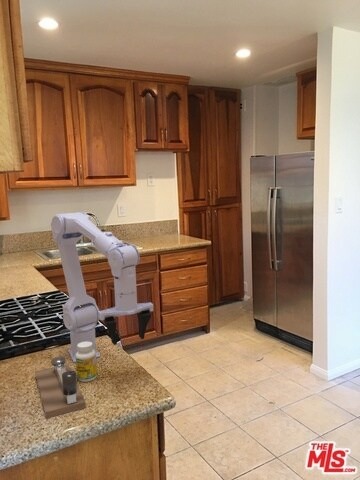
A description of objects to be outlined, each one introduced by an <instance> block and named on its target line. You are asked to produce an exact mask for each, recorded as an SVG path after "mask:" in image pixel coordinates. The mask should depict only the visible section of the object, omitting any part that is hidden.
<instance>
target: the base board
mask: <svg viewBox="0 0 360 480" xmlns="http://www.w3.org/2000/svg"><path fill="white" fill-rule="evenodd" d="M63 365H64V367H65V370H66V372H67V371H72V369H71V367H70V365H69V364H68V363H67V364H63ZM34 372H35V373H34V374H35V381H36V384H37V388H38V393H39V395H40V399H41V404H42V408H43V411H44V416H45V419H49V418H52V417H57V416H60V415H64V414H67V413H71V412H75V411H78V410H83V409H85V408H87V406H86V400H85V398H84V396H83V393H82V392H81V389H80V387H79V384H78V383H77V392H76V402H74V403H70V404H67V401H66V398H65V395H64V394H63V390H62V387H61V385H60V382H59V379H58V376H57V374H56V371H55V367H54V366H53V367H50V368H45V369H41V370H36V371H34Z"/></svg>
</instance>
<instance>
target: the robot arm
mask: <svg viewBox="0 0 360 480" xmlns="http://www.w3.org/2000/svg"><path fill="white" fill-rule="evenodd" d="M50 227H51V232H52V237H53V241H54V243H55V244H57V248H58V251H59V256H60V261H61V265H62V270H63V274H64V275H63V276H64V278H65V284H66V287H67V288H66V289H67V293H68V299H67V301H66V302H65V303H64V305H63V306H62V313H63V314H62V315H63V316H62V320H63V324H64V326H65V328H66V329H67V330H69V335H70V336H69V338H70V347H71V348H70V349H68V354H69V356H70V358H71V360H72V362H73V363H76V357H75V356H76V353H77V352H78V350H77V345H78V344H79V343H81V342H86V341H88V342H92V345H93V348H92V349H93V350H94V351H95V352H96V359H97V358H100V357H101V355H100V353H99V352H98V350H97V343H96V328H95V327H96V326H97V323H98V322H99V320H100V321H103V322H104V324H105V326H106V329H107V330H108V333H109V335H110V339H111V343H112V344H113V346H116V345H117V344H118V342H117V322H116V320H115V318H117V317H122V316H123V317H124V316H128V315H134V314H137V323H138V338H140V339H141V340H144V339H145V335H146V330H147V327H148V324H149V322H150V320H151V318H152V313H151V312H154V304H153V303H152V302H151V301H150V302H143V303H138V297H137V294H138V292H137V275H136V274H137V273H136V271H137V269H136V266H137V265H139V263H140V260H141V259H140V258H141V257H140V256H141V255H140V252H139V250H138V248H137V247H136V246H135V245H134V244H127V243H126V244H125V243H124V241H121V240H119V239H118V238H117V237H116V236H115V235H114V234H113V232H111V231H102V230H101V229H99V228H98V226H97V225H95V223H93V222H92V220H91V216H90V214H88V213H86V212H84V211H79V212H69V213H67V212H66V213H56V214H54V215H53V217H52V219H51V222H50ZM83 237H85V238H87V239H89V240H90V241H92V242H93V243H94V248H95V249H96V250H97V252H99V253H100V254H101V255H103V256H104V257H105V258H106V259H107V262H108V265H109V267H110V271H111V275H112V276H113V286H114V287H113V288H114V305H115V306H113V307H110V308H106V309H103V310H100V309H99V307H98V305H97V303H96V298H94V297H92V296H90V295H88V294H87V289H86V285H85V280H84V277H83V271H82V267H81V262H80V259H79V254H78V253H79V252H78V250H77V243H78V241H80V240H81V239H82V238H83Z"/></svg>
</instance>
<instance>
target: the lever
mask: <svg viewBox="0 0 360 480" xmlns="http://www.w3.org/2000/svg"><path fill="white" fill-rule="evenodd" d="M64 365H66V357H63V356H57V357H54V358H52V359H51V366H53V367H55V371H56V374H57V376H58V379H59V382H60V385H61V387H62V390H63V394H64V395H65V398H66V401H67V404H70V403H74V402H76V392H77V384H78V382H77V381H78V380H77V371H75V370H71V371H67V372H66V370H65V367H64Z"/></svg>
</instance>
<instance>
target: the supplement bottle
mask: <svg viewBox="0 0 360 480" xmlns="http://www.w3.org/2000/svg"><path fill="white" fill-rule="evenodd" d="M92 348H93V345H92V342H88V341H86V342H81V343H79V344H78V345H77V350H78V352H77V353H76V356H75V357H76V362H75V369H76V379H77V381H79V382H82V383H87V382H91V381H93V380H96V378H97V377H98V367H97V358H96V352H95V351H94V350H93V349H92Z"/></svg>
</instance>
